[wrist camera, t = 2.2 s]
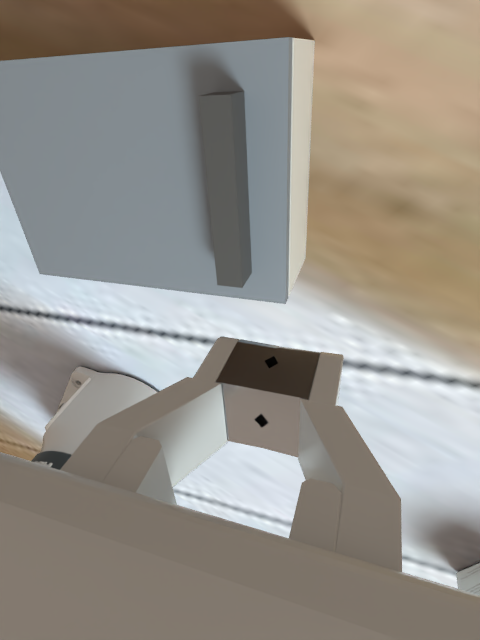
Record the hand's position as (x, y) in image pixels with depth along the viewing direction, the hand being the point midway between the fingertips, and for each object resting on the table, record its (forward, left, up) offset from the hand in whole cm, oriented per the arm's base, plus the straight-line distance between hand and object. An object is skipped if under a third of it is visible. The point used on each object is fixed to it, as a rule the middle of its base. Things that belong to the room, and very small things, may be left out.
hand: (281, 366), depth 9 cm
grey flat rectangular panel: (-9, +9, -15) cm, 20 cm away
